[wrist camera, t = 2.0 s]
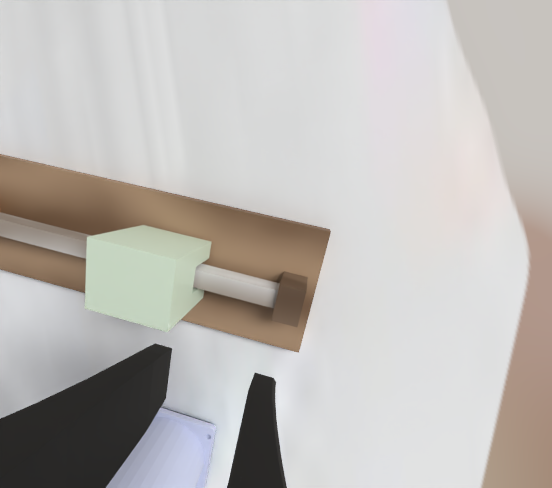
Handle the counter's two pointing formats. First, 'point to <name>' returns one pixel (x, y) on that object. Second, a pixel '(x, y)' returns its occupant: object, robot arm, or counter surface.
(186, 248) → the sleeve
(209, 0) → the counter surface
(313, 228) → the rod board
